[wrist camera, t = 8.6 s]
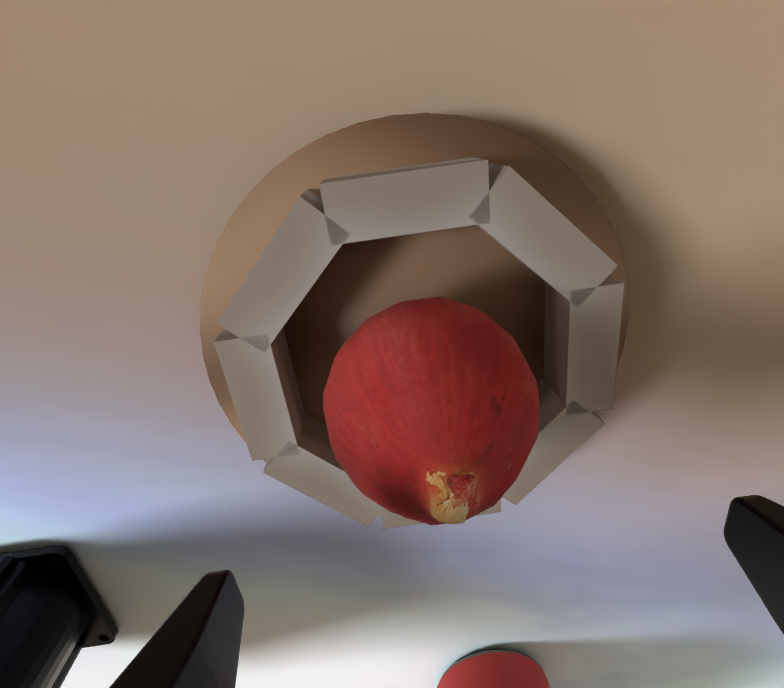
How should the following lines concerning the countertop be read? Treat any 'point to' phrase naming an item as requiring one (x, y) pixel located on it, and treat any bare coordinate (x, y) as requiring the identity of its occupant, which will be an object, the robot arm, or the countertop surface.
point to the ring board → (409, 284)
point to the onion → (431, 410)
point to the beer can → (494, 671)
